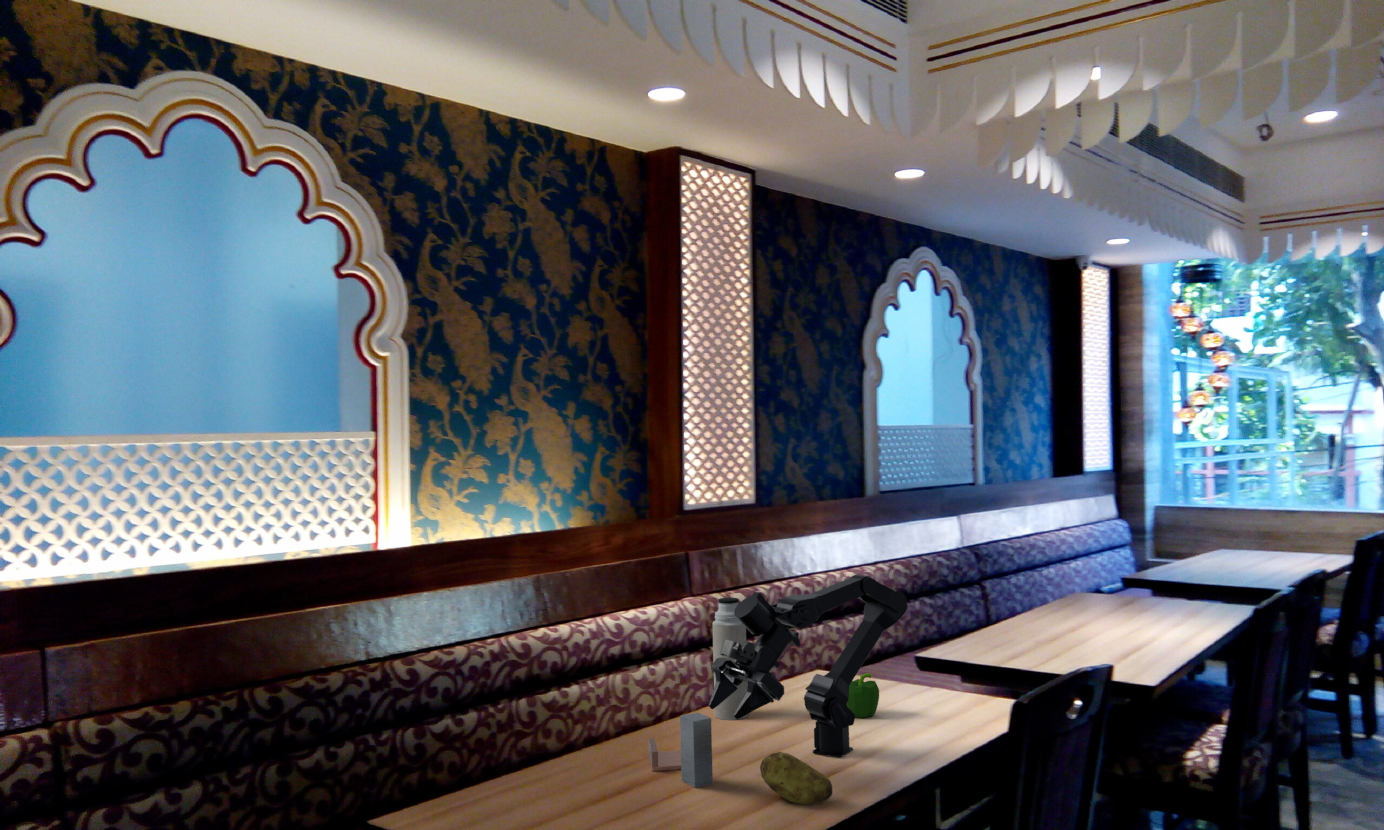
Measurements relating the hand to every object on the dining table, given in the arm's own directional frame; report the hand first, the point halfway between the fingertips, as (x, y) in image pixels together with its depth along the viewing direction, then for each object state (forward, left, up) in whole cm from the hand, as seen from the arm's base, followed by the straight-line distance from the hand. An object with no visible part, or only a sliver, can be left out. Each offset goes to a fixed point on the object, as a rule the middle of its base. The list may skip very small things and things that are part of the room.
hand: (722, 712), depth 199 cm
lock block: (+3, +6, -12) cm, 14 cm away
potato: (-18, +5, -12) cm, 23 cm away
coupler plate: (+14, -2, -12) cm, 18 cm away
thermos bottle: (+23, -38, -12) cm, 46 cm away
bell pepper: (-4, -53, -13) cm, 55 cm away
